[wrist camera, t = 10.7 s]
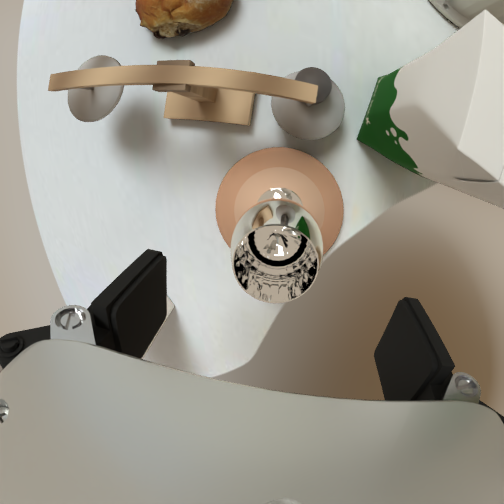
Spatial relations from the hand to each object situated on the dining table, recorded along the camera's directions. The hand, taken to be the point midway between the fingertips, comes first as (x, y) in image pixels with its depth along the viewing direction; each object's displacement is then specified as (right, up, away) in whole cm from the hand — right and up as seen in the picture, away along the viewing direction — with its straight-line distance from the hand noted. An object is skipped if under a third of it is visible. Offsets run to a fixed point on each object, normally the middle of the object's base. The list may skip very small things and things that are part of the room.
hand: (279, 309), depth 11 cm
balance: (-5, +17, +13) cm, 22 cm away
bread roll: (-7, +28, +10) cm, 30 cm away
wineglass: (+2, +6, +16) cm, 17 cm away
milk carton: (+13, +15, +12) cm, 23 cm away
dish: (+2, +6, +17) cm, 18 cm away
